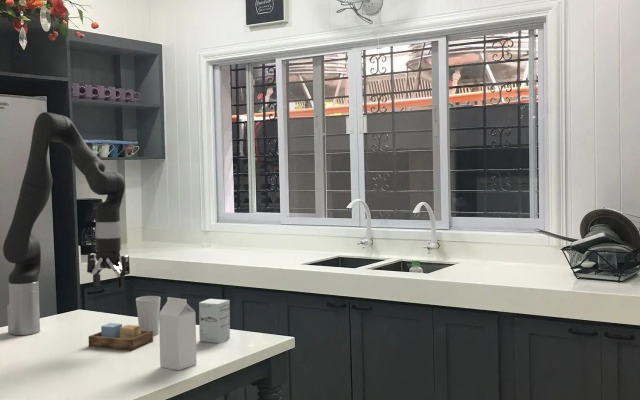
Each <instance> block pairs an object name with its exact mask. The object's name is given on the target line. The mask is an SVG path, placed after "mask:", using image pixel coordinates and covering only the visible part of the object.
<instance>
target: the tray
mask: <svg viewBox="0 0 640 400" xmlns="http://www.w3.org/2000/svg"><path fill="white" fill-rule="evenodd" d="M153 342H154V336H153V331H144V330H141V335H140V336H137V337H135V338H132V339H124V338H112V337H102V335H101V331H99V332H97V333H94V334H91V335H89V336H88V347H89V348H95V349H96V348H99V349H110V350H120V351H132V352H133V351H134V350H137V349H139V348H141V347H143V346H146V345H148V344H151V343H153Z"/></svg>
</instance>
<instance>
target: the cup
mask: <svg viewBox="0 0 640 400" xmlns="http://www.w3.org/2000/svg"><path fill="white" fill-rule="evenodd" d="M135 304H136V311H137V323H138V325H141V330H144V331H153V337H154V336H158V335H160V334H159V313H160V311H161V309H160V308H161V296H158V295H144V296H139V297H136V298H135Z"/></svg>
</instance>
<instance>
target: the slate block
mask: <svg viewBox="0 0 640 400" xmlns="http://www.w3.org/2000/svg"><path fill="white" fill-rule="evenodd" d="M120 327H123V324H122V323H111V322H110V323H107V324H104V325H101V331H100V332H101V335H102V337H112V338H120Z"/></svg>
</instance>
